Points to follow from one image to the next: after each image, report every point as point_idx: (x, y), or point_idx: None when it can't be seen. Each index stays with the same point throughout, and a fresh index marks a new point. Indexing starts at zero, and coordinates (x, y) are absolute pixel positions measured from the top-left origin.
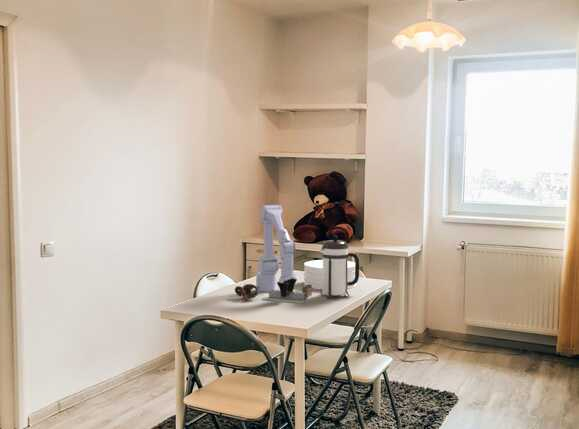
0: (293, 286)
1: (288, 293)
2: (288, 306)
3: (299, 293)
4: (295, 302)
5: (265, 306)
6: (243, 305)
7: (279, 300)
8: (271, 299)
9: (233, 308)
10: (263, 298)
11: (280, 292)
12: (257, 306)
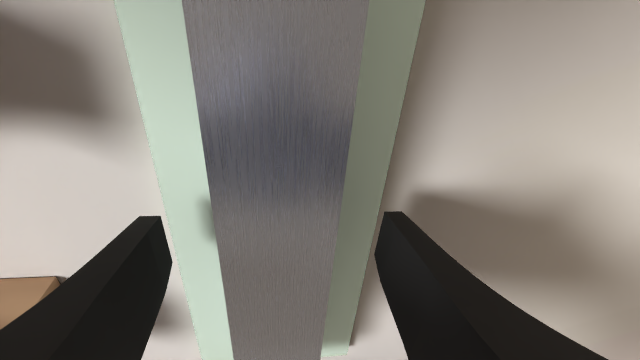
0: (75, 309)
1: (333, 231)
2: (628, 57)
3: (320, 26)
4: (410, 40)
5: (585, 251)
6: None
7: (369, 241)
8: (356, 302)
9: (610, 354)
10: (346, 349)
11: (324, 321)
12: (576, 290)
